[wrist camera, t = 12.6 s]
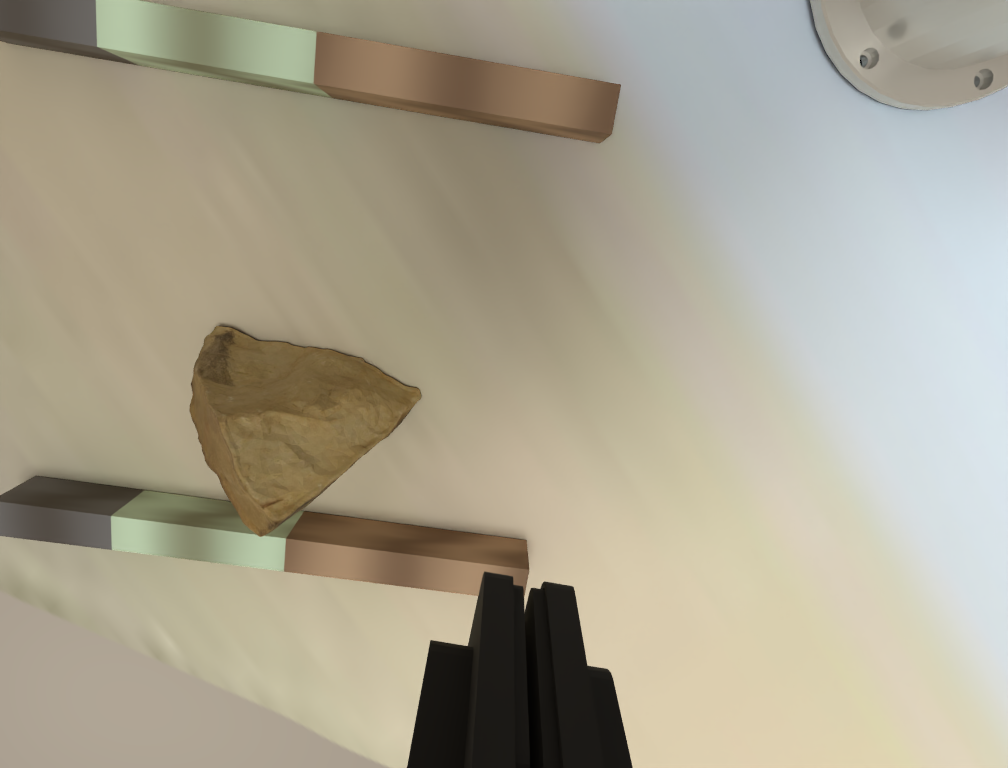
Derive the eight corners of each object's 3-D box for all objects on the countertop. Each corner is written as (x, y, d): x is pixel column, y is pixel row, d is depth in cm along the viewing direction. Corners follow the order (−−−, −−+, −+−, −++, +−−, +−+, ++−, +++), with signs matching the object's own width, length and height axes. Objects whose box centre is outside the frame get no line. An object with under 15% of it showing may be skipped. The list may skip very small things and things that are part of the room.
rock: (125, 386, 29) (251, 541, 30) (92, 335, 22) (262, 544, 22) (307, 282, 34) (411, 417, 35) (332, 212, 27) (463, 386, 28)
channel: (608, 98, 28) (620, 84, 25) (521, 569, 35) (523, 601, 32) (3, -6, 26) (-57, -34, 23) (37, 507, 33) (-6, 535, 30)
